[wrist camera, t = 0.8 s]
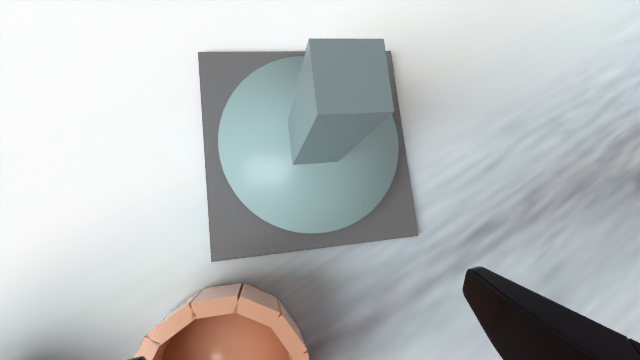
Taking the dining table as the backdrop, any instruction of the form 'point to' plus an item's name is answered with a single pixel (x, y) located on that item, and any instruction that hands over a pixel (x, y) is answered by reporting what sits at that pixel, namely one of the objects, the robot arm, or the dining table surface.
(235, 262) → the dining table surface
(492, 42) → the dining table surface
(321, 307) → the dining table surface
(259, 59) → the mat
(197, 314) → the bowl
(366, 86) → the domed base post
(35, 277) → the dining table surface
